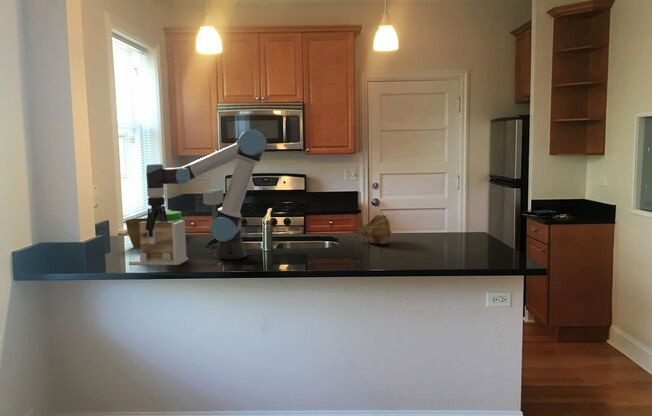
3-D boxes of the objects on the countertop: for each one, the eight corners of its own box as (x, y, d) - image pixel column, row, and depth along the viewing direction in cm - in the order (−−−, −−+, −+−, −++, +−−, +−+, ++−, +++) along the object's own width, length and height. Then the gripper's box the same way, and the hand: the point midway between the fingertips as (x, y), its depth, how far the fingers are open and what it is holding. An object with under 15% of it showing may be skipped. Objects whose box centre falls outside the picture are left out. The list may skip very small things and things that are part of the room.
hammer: (216, 242, 310) (215, 190, 307) (204, 242, 311) (202, 190, 308) (225, 238, 325) (223, 189, 322) (213, 238, 326) (211, 189, 323)
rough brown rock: (357, 239, 313) (357, 214, 312) (386, 238, 314) (385, 213, 313) (362, 246, 290) (362, 218, 289) (392, 245, 291) (392, 218, 289)
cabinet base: (178, 264, 246) (176, 223, 244) (129, 264, 249) (126, 223, 247) (187, 259, 258) (186, 220, 256) (140, 259, 261) (138, 220, 259)
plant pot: (161, 247, 297) (159, 218, 295) (140, 251, 284) (139, 221, 282) (141, 245, 304) (140, 217, 302) (120, 249, 291) (119, 220, 289)
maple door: (172, 260, 250) (170, 222, 248) (139, 260, 251) (138, 222, 250) (176, 259, 254) (174, 221, 252) (144, 258, 256) (142, 221, 254)
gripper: (152, 199, 238) (154, 246, 240) (174, 194, 263) (176, 237, 265) (136, 199, 239) (138, 246, 241) (159, 195, 263) (161, 237, 265)
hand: (158, 241), depth 253 cm, fingers open, 13 cm apart
